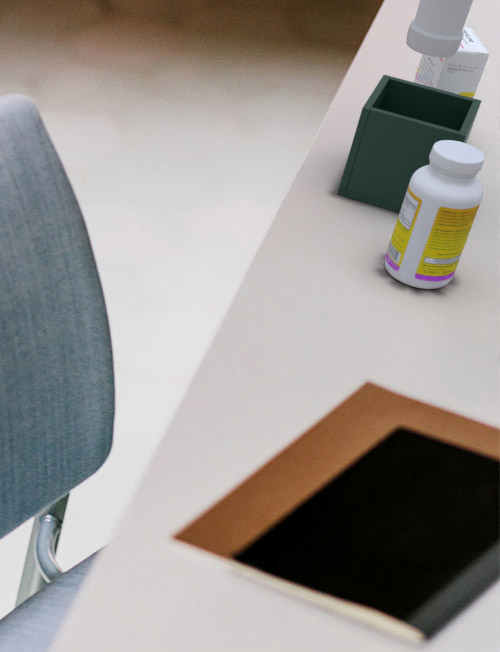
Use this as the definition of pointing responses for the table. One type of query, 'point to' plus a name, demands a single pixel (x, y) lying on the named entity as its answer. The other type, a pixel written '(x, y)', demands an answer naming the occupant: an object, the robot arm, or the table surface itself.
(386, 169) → the bin
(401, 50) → the table surface
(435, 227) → the supplement bottle
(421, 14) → the bottle
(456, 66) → the ink box
